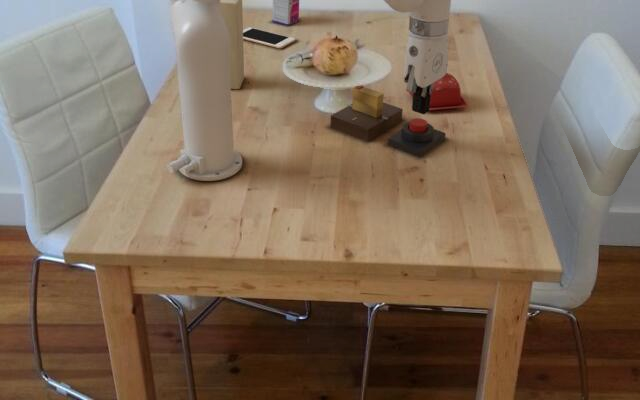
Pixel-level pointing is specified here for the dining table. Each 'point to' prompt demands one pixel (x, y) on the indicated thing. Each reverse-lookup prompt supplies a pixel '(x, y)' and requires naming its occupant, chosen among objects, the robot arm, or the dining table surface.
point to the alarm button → (418, 125)
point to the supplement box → (285, 11)
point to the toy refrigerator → (234, 39)
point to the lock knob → (367, 101)
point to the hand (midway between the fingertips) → (420, 111)
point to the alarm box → (416, 140)
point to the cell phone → (267, 37)
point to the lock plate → (365, 121)
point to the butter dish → (446, 94)
